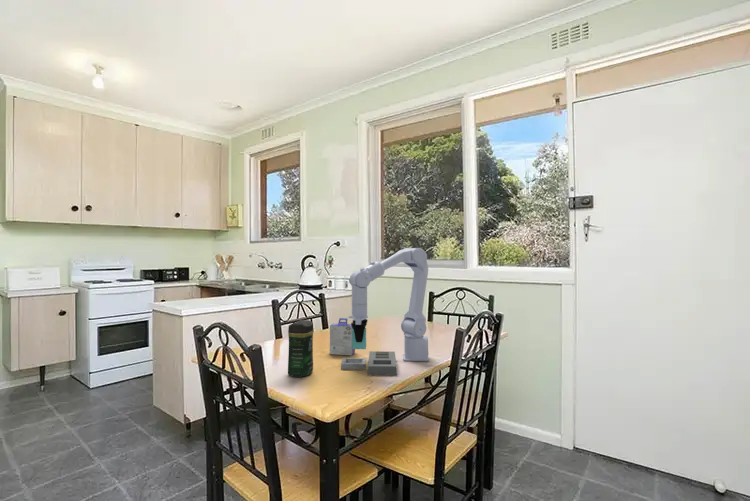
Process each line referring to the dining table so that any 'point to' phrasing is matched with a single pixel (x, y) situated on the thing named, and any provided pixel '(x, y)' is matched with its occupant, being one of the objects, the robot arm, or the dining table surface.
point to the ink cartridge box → (341, 338)
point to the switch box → (382, 363)
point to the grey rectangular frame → (353, 364)
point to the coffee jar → (300, 348)
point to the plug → (359, 344)
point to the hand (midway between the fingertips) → (359, 340)
